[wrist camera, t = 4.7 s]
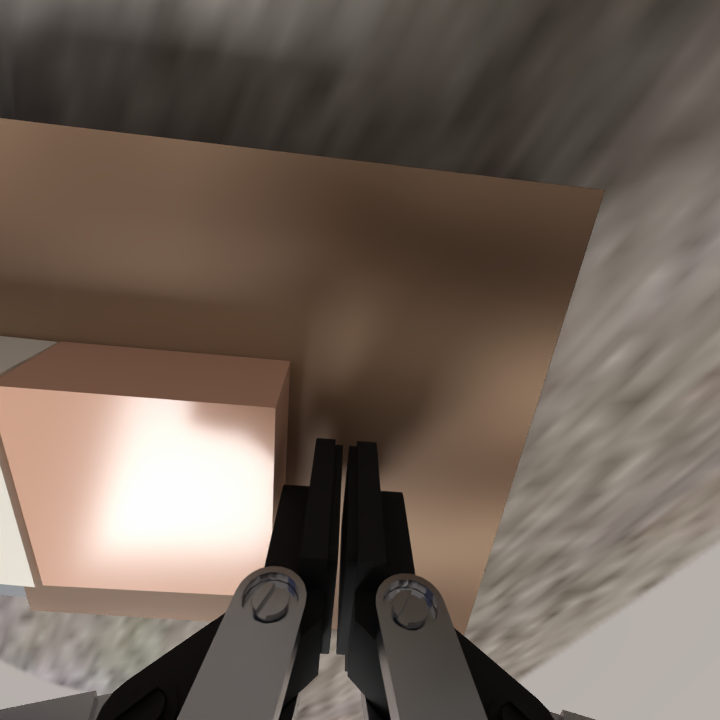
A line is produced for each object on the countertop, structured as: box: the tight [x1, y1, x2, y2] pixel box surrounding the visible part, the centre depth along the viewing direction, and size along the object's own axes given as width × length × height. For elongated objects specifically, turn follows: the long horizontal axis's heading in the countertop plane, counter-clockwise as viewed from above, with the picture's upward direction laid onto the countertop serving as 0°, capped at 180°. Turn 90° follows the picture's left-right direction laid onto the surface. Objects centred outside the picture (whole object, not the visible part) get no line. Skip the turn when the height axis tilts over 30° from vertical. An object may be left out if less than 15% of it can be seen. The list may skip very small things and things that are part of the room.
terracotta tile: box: [0, 341, 290, 595], centre depth 11 cm, size 6×6×2 cm
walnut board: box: [0, 118, 605, 636], centre depth 15 cm, size 16×16×4 cm
